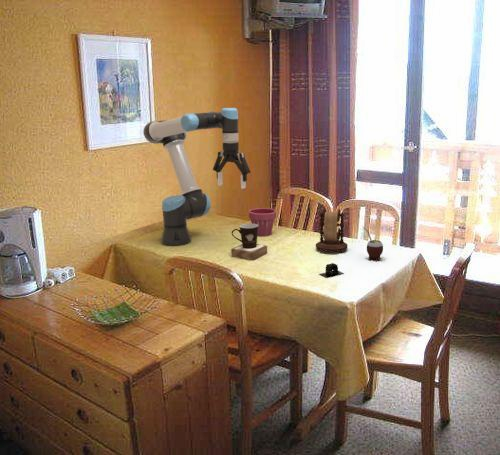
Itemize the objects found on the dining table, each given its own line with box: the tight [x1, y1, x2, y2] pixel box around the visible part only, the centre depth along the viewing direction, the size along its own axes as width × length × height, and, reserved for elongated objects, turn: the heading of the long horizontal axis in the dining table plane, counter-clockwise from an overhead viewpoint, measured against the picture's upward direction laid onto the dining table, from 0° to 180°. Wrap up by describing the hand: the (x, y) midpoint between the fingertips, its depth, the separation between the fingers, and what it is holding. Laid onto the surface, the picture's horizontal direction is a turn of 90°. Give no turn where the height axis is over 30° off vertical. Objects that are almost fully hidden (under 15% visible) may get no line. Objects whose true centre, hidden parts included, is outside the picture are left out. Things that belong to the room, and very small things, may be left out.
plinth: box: [230, 243, 268, 262], centre depth 235 cm, size 12×12×4 cm
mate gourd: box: [362, 226, 384, 262], centre depth 222 cm, size 8×8×15 cm
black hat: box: [318, 262, 345, 279], centre depth 207 cm, size 12×7×5 cm, turn 118°
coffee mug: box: [231, 223, 258, 249], centre depth 234 cm, size 12×9×10 cm
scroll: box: [315, 208, 348, 254], centre depth 237 cm, size 15×15×20 cm
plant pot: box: [248, 207, 277, 237], centre depth 269 cm, size 14×14×13 cm
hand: (231, 186), depth 242 cm, fingers open, 13 cm apart
